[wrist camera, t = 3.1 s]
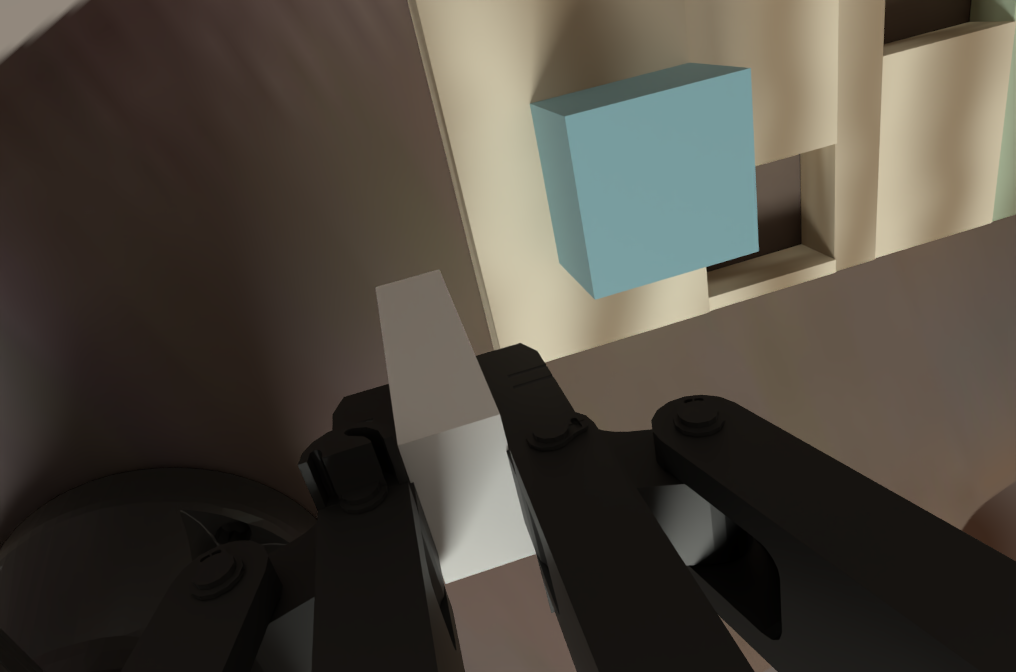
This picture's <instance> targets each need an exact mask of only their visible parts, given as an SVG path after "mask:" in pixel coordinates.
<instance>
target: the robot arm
mask: <svg viewBox="0 0 1016 672" xmlns="http://www.w3.org/2000/svg"><path fill="white" fill-rule="evenodd" d="M375 288H376V295H377V302H378V310H379V317H380V324H381V331H382V338H383V345H384V352H385V359H386V366H387V373H388V380H389V384H387V385H383V386H380V387H376V388H373V389H370V390H366V391H363V392H360V393H356V394H353V395H349V396H346V397H344V398H343V399H342V401H341V402H340V404H339V405H338V407H337V408H336V410H335V411H334V413H333V428H332V431H330V432H328V433H326V434H325V435H323V436H322V437H320V438H319V439H317V440H315V441H314V442H313V443H312V444H311V445H310V446H309V447H308V448H307V449H306V450H305V451H304V452H303V453H302V456H301V458H300V461H299V463H298V466H299V469H300V471H301V473H302V476H303V478H304V480H305V482H306V485H307V487H308V489H309V492H310V494H311V496H312V499H313V501H314V503H315V505H316V508H317V510H318V519H317V520H316V519H315V518H314V517H313V516H312V515H311V514H310V513H309V512H308V511H306V510H305V509H304V508H303V507H302V506H300V505H299V504H297V503H296V502H294V501H293V500H292V499H290V498H288V497H287V496H285V495H283V494H281V493H280V492H278V491H276V490H274V489H272V488H270V487H267V486H265V485H262V484H260V483H258V482H255V481H252V480H249V479H246V478H243V477H239V476H235V475H232V474H227V473H222V472H217V471H210V470H204V469H193V468H155V469H144V470H137V471H130V472H125V473H120V474H115V475H112V476H108V477H104V478H101V479H98V480H95V481H92V482H89V483H86V484H84V485H81V486H79V487H76V488H74V489H72V490H70V491H68V492H66V493H64V494H61V495H60V496H58V497H56V498H54V499H53V500H51V501H49V502H48V503H46V504H45V505H43V506H42V507H40V508H39V509H38V510H36V511H35V512H34V513H33V514H31V515H30V516H29V517H28V518H26V519H25V520H24V521H23V522H22V523H21V524H20V525H19V526H18V527H17V528H16V529H15V530H14V532H13V533H12V534H11V535H10V536H9V538H8V539H7V540H6V542H5V543H4V544H3V546H2V547H1V549H0V672H465V670H464V665H463V660H462V655H461V650H460V645H459V640H458V635H457V630H456V624H455V619H454V614H453V609H452V606H451V604H450V601H449V598H448V595H447V592H446V589H445V586H444V582H443V578H444V581H445V583H446V584H447V583H450V582H453V581H456V580H459V579H462V578H465V577H468V576H471V575H474V574H477V573H480V572H483V571H486V570H489V569H492V568H495V567H498V566H501V565H504V564H507V563H510V562H513V561H516V560H519V559H522V558H525V557H528V556H531V555H534V554H537V558H538V562H539V566H540V570H541V574H542V578H543V582H544V586H545V590H546V593H547V597H548V601H549V605H550V609H551V613H553V612H555V613H556V616H557V619H558V621H559V624H560V627H561V630H562V632H563V635H564V638H565V641H566V643H567V646H568V649H569V651H570V654H571V657H572V660H573V662H574V665H575V668H576V671H577V672H754V670H753V669H752V667H751V666H750V664H749V662H748V661H747V659H746V658H745V656H744V655H743V653H742V652H741V650H740V648H739V647H738V645H737V644H736V642H735V641H734V639H733V638H732V636H731V634H730V633H729V631H728V630H727V628H726V627H725V625H724V624H723V622H722V620H721V619H720V617H721V618H722V619H723V620H724V621H725V622H726V623H727V624H728V625H729V626H730V627H732V628H733V629H734V630H735V631H736V632H737V633H738V634H739V635H740V636H741V637H742V638H743V639H744V640H745V641H746V642H747V643H748V644H749V645H750V646H751V647H752V648H753V649H755V650H756V651H757V652H758V653H759V654H760V655H761V656H762V657H763V658H764V659H765V660H766V661H767V662H768V663H769V664H770V665H771V666H772V667H773V668H774V669H775V670H777V671H778V672H1016V561H1014V560H1012V559H1010V558H1009V557H1007V556H1005V555H1004V554H1002V553H1000V552H998V551H996V550H995V549H993V548H991V547H989V546H988V545H986V544H984V543H982V542H981V541H979V540H977V539H975V538H973V537H972V536H970V535H968V534H966V533H965V532H963V531H961V530H959V529H958V528H956V527H954V526H952V525H951V524H949V523H947V522H945V521H943V520H942V519H940V518H938V517H936V516H935V515H933V514H931V513H929V512H928V511H926V510H924V509H922V508H920V507H919V506H917V505H915V504H913V503H912V502H910V501H908V500H906V499H905V498H903V497H901V496H899V495H897V494H896V493H894V492H892V491H890V490H889V489H887V488H885V487H883V486H882V485H880V484H878V483H876V482H874V481H873V480H871V479H869V478H867V477H866V476H864V475H862V474H860V473H859V472H857V471H855V470H853V469H851V468H850V467H848V466H846V465H844V464H843V463H841V462H839V461H837V460H836V459H834V458H832V457H830V456H828V455H827V454H825V453H823V452H821V451H820V450H818V449H816V448H814V447H813V446H811V445H809V444H807V443H805V442H804V441H802V440H800V439H798V438H797V437H795V436H793V435H791V434H790V433H788V432H786V431H784V430H782V429H781V428H779V427H777V426H775V425H774V424H772V423H770V422H768V421H767V420H765V419H763V418H761V417H759V416H758V415H756V414H754V413H752V412H751V411H749V410H747V409H745V408H744V407H742V406H740V405H738V404H736V403H735V402H732V401H729V400H727V399H724V398H721V397H717V396H708V395H693V396H686V397H682V398H679V399H676V400H673V401H670V402H668V403H667V404H665V405H664V406H662V407H661V408H660V409H658V410H657V411H656V413H655V415H654V417H653V418H652V420H651V421H652V430H641V431H631V432H611V431H603V430H600V429H598V428H597V426H596V425H595V423H594V422H593V421H592V420H590V419H589V418H588V417H587V416H586V415H583V414H580V413H577V412H575V411H574V409H573V408H572V406H571V404H570V403H569V401H568V400H567V398H566V396H565V395H564V393H563V391H562V390H561V388H560V387H559V385H558V383H557V382H556V380H555V379H554V377H553V376H552V374H551V372H550V370H549V369H548V367H546V364H545V362H544V361H543V359H542V357H541V356H540V354H539V353H538V351H536V350H534V349H532V348H530V347H528V346H526V345H524V344H522V343H518V344H515V345H511V346H508V347H505V348H501V349H498V350H495V351H491V352H488V353H484V354H481V355H478V356H475V354H474V351H473V349H472V346H471V344H470V342H469V339H468V337H467V334H466V332H465V330H464V327H463V325H462V322H461V320H460V318H459V315H458V313H457V311H456V308H455V306H454V303H453V301H452V299H451V296H450V294H449V291H448V289H447V287H446V284H445V282H444V279H443V277H442V275H441V272H440V270H435V271H431V272H428V273H424V274H421V275H417V276H414V277H410V278H406V279H403V280H399V281H396V282H392V283H389V284H385V285H381V286H378V287H375ZM535 551H536V553H535ZM442 575H443V576H442ZM718 615H719V616H720V617H719V616H718Z"/></svg>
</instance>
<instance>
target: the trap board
mask: <svg viewBox="0 0 1016 672" xmlns="http://www.w3.org/2000/svg"><path fill="white" fill-rule="evenodd" d="M407 1H408V5H409V9H410V13H411V17H412V21H413V25H414V29H415V33H416V37H417V41H418V46H419V50H420V54H421V58H422V62H423V66H424V70H425V74H426V78H427V82H428V86H429V90H430V94H431V98H432V102H433V106H434V110H435V114H436V118H437V122H438V126H439V130H440V134H441V138H442V142H443V146H444V150H445V154H446V158H447V162H448V166H449V170H450V174H451V178H452V183H453V187H454V191H455V195H456V199H457V203H458V207H459V211H460V215H461V219H462V223H463V227H464V231H465V235H466V239H467V243H468V247H469V251H470V255H471V259H472V263H473V267H474V271H475V275H476V279H477V283H478V287H479V291H480V295H481V299H482V303H483V307H484V311H485V315H486V320H487V324H488V328H489V332H490V336H491V340H492V344H493V348H494V350H498V349H501V348H505V347H508V346H511V345H515V344H518V343H522V344H524V345H526V346H528V347H530V348H532V349H534V350H536V351H538V353H539V354H540V356H541V357H542V359H543V361H544V362H547V361H551V360H554V359H557V358H561V357H564V356H567V355H570V354H574V353H577V352H580V351H584V350H587V349H590V348H593V347H597V346H600V345H603V344H606V343H610V342H613V341H616V340H620V339H623V338H626V337H629V336H633V335H636V334H639V333H643V332H646V331H649V330H652V329H656V328H659V327H662V326H666V325H669V324H672V323H675V322H679V321H682V320H685V319H689V318H692V317H695V316H698V315H702V314H705V313H708V312H710V311H711V310H714V309H717V308H721V307H724V306H727V305H731V304H734V303H737V302H740V301H744V300H747V299H750V298H754V297H757V296H760V295H763V294H767V293H770V292H773V291H777V290H780V289H783V288H786V287H790V286H793V285H796V284H800V283H803V282H806V281H809V280H813V279H816V278H819V277H823V276H826V275H829V274H832V273H836V271H838V270H842V269H845V268H848V267H852V266H855V265H858V264H861V263H865V262H868V261H871V260H875V258H877V257H881V256H884V255H887V254H890V253H894V252H897V251H900V250H904V249H907V248H910V247H913V246H917V245H920V244H923V243H927V242H930V241H933V240H937V239H940V238H943V237H946V236H950V235H953V234H956V233H960V232H963V231H966V230H969V229H973V228H976V227H979V226H983V225H986V224H989V223H992V221H995V220H999V219H1002V218H1005V217H1008V216H1012V215H1015V214H1016V0H972V1H971V12H970V22H967V23H963V24H959V25H956V26H952V27H948V28H944V29H940V30H937V31H933V32H929V33H925V34H921V35H918V36H914V37H910V38H906V39H902V40H898V41H895V42H891V43H887V44H883V43H884V18H885V0H407ZM686 63H700V64H711V65H723V66H734V67H745V68H751V83H752V106H753V129H754V152H755V166H758V165H762V164H765V163H769V162H773V161H776V160H780V159H783V158H787V157H790V156H794V155H798V154H800V162H801V238H802V244H800V245H797V246H794V247H790V248H787V249H784V250H780V251H777V252H773V253H770V254H767V255H763V256H760V257H757V258H753V259H750V260H746V261H743V262H740V263H736V264H733V265H730V266H726V267H723V268H720V269H716V270H713V271H709V272H707V271H706V267H704V268H701V269H698V270H694V271H691V272H687V273H684V274H681V275H677V276H674V277H670V278H667V279H664V280H660V281H657V282H654V283H650V284H647V285H643V286H640V287H637V288H633V289H630V290H627V291H623V292H620V293H616V294H613V295H610V296H606V297H603V298H600V299H596V300H595V299H594V298H593V297H592V296H591V295H590V294H589V293H588V292H587V291H586V290H585V289H584V288H583V287H582V286H581V285H580V284H579V283H578V282H577V281H576V280H575V279H574V278H573V277H572V276H571V275H570V274H569V273H568V272H567V271H566V270H565V269H564V268H563V267H562V266H561V264H560V263H559V259H558V253H557V248H556V243H555V237H554V232H553V227H552V221H551V216H550V210H549V205H548V200H547V194H546V189H545V184H544V178H543V173H542V167H541V162H540V157H539V151H538V146H537V141H536V135H535V130H534V125H533V119H532V114H531V108H530V103H534V102H538V101H542V100H546V99H550V98H553V97H557V96H561V95H565V94H569V93H573V92H577V91H581V90H585V89H588V88H592V87H596V86H600V85H604V84H608V83H612V82H616V81H620V80H624V79H627V78H631V77H635V76H639V75H643V74H647V73H651V72H655V71H659V70H663V69H666V68H670V67H674V66H678V65H682V64H686Z"/></svg>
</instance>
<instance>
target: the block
mask: <svg viewBox="0 0 1016 672" xmlns="http://www.w3.org/2000/svg"><path fill="white" fill-rule="evenodd" d="M530 108H531V114H532V119H533V125H534V130H535V135H536V141H537V146H538V151H539V157H540V162H541V167H542V173H543V178H544V184H545V189H546V194H547V200H548V205H549V210H550V216H551V221H552V227H553V232H554V237H555V243H556V248H557V253H558V259H559V263H560V264H561V266H562V267H563V268H564V269H565V270H566V271H567V272H568V273H569V274H570V275H571V276H572V277H573V278H574V279H575V280H576V281H577V282H578V283H579V284H580V285H581V286H582V287H583V288H584V289H585V290H586V291H587V292H588V293H589V294H590V295H591V296H592V297H593V298H594V299H595V300H596V299H600V298H603V297H606V296H610V295H613V294H616V293H620V292H623V291H627V290H630V289H633V288H637V287H640V286H643V285H647V284H650V283H654V282H657V281H660V280H664V279H667V278H670V277H674V276H677V275H681V274H684V273H687V272H691V271H694V270H698V269H701V268H704V267H708V266H711V265H714V264H718V263H721V262H725V261H728V260H731V259H735V258H738V257H741V256H745V255H748V254H752V253H755V252H758V251H759V244H758V221H757V198H756V175H755V152H754V129H753V106H752V83H751V68H745V67H734V66H723V65H711V64H700V63H686V64H682V65H678V66H674V67H670V68H666V69H663V70H659V71H655V72H651V73H647V74H643V75H639V76H635V77H631V78H627V79H624V80H620V81H616V82H612V83H608V84H604V85H600V86H596V87H592V88H588V89H585V90H581V91H577V92H573V93H569V94H565V95H561V96H557V97H553V98H550V99H546V100H542V101H538V102H534V103H530Z"/></svg>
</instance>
